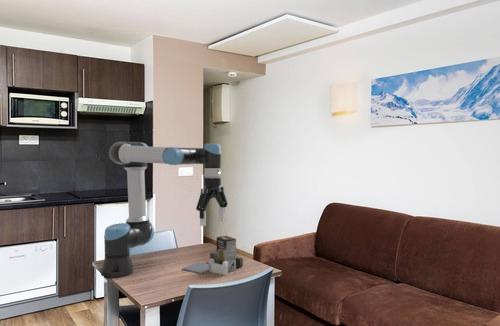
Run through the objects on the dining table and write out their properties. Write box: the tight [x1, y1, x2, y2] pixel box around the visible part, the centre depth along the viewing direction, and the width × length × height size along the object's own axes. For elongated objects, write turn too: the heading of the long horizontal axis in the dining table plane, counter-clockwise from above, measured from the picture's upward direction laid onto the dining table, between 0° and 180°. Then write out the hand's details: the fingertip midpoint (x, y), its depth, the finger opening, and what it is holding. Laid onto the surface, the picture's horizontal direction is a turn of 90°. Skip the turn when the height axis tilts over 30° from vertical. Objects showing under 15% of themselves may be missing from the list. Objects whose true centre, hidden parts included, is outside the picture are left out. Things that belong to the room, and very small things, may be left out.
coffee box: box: [216, 235, 237, 273], centre depth 190 cm, size 9×6×16 cm
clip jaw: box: [208, 258, 229, 276], centre depth 184 cm, size 10×2×6 cm, turn 59°
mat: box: [181, 261, 209, 275], centre depth 191 cm, size 13×13×1 cm
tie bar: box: [209, 251, 244, 268], centre depth 198 cm, size 19×3×5 cm, turn 59°
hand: (212, 223), depth 172 cm, fingers open, 13 cm apart
